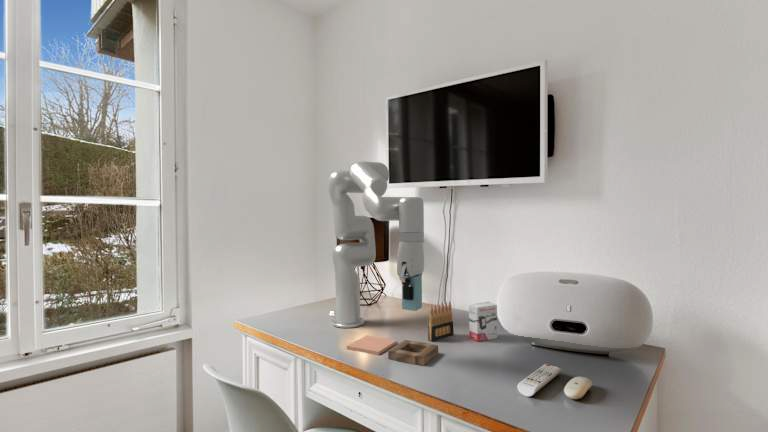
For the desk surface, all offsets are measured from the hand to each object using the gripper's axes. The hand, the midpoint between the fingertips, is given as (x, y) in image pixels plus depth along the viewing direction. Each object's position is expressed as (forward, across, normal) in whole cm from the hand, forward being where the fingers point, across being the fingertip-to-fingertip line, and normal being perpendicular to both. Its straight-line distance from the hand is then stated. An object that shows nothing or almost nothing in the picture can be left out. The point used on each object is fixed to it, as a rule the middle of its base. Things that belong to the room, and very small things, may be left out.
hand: (412, 297), depth 121 cm
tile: (+18, -2, -16) cm, 24 cm away
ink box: (+18, -26, +14) cm, 35 cm away
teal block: (+3, 0, 0) cm, 3 cm away
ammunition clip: (+18, -20, +2) cm, 27 cm away
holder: (+18, 0, 0) cm, 18 cm away
